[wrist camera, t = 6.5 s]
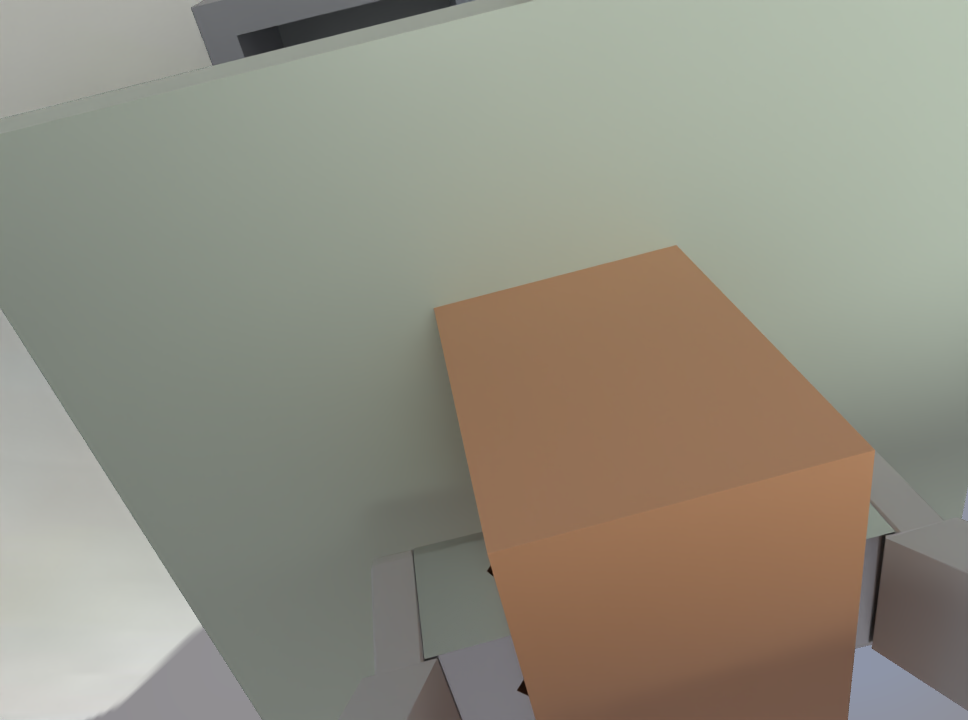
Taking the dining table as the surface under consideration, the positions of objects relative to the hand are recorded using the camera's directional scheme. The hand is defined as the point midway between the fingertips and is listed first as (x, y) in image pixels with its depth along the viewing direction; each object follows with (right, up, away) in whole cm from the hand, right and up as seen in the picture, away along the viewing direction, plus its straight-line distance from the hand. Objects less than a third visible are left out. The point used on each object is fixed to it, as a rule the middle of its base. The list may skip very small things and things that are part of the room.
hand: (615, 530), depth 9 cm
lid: (-1, +2, +3) cm, 3 cm away
